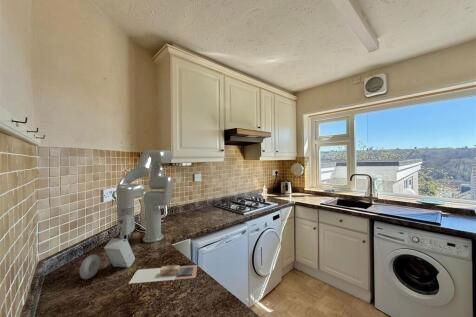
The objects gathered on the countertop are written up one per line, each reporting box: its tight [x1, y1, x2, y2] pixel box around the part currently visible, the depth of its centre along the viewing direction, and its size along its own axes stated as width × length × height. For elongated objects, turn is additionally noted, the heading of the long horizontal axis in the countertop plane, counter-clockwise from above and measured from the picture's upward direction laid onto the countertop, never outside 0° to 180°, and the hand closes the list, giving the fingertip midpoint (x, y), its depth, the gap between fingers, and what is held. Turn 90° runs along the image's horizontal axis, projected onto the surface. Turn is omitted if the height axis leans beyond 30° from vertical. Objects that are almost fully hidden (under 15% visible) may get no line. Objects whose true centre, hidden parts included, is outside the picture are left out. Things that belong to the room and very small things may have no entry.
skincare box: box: [103, 237, 136, 268], centre depth 94 cm, size 8×6×15 cm
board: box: [128, 264, 198, 285], centre depth 88 cm, size 10×28×1 cm, turn 97°
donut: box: [79, 254, 101, 280], centre depth 88 cm, size 10×4×10 cm, turn 178°
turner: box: [160, 264, 194, 277], centre depth 89 cm, size 14×6×3 cm, turn 97°
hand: (126, 246), depth 97 cm, fingers closed
